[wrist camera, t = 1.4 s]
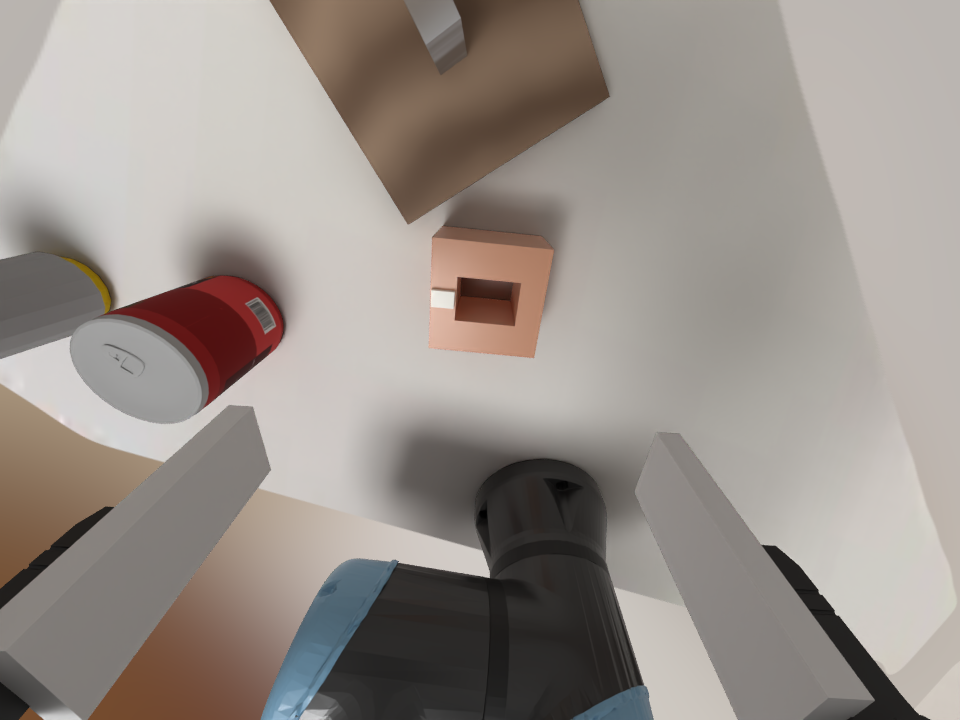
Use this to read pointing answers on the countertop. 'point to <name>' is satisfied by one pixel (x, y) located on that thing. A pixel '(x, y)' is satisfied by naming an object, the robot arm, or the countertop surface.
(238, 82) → the countertop surface
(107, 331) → the canned food
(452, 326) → the orange open box
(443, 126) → the base plate
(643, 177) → the countertop surface
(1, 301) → the soap bottle
